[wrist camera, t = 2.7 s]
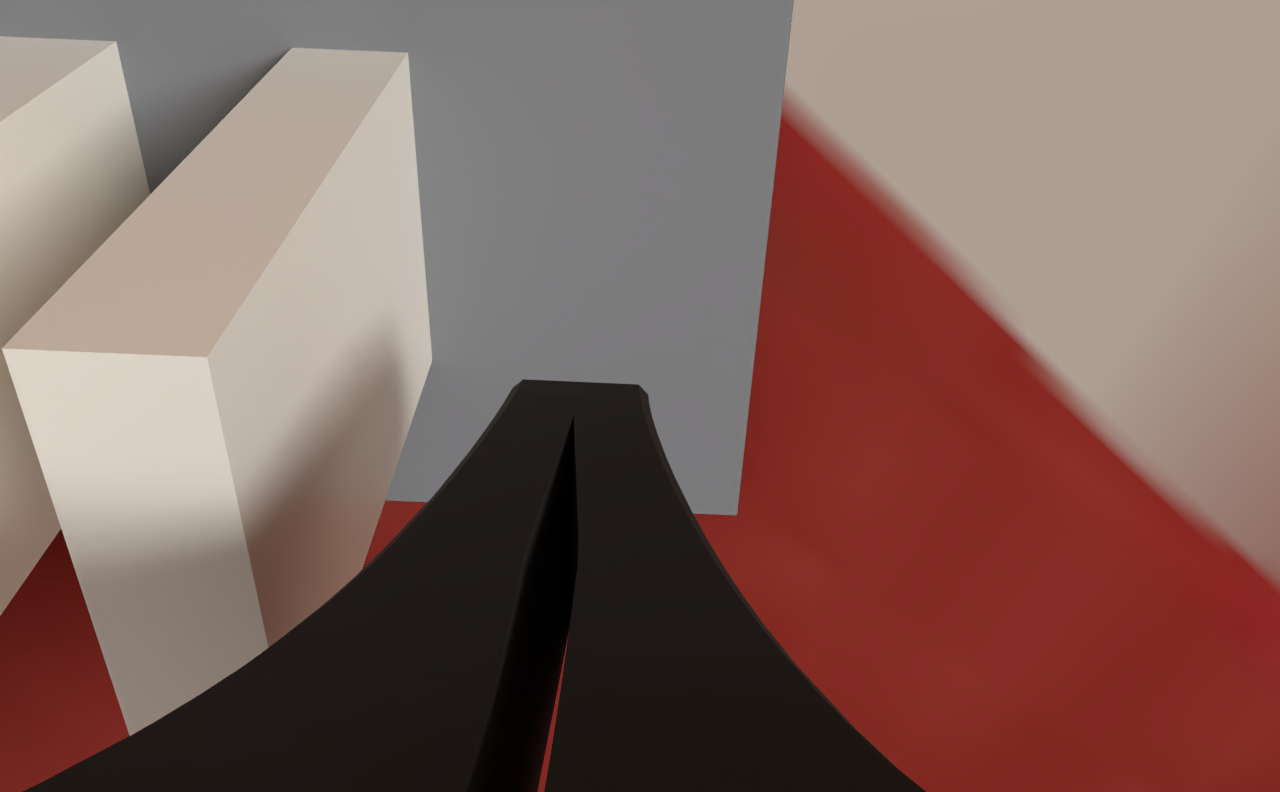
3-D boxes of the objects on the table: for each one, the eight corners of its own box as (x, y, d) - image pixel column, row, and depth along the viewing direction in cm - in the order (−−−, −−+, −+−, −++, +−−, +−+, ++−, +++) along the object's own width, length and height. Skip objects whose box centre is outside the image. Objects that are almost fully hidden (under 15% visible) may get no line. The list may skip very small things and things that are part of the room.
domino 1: (408, 52, 15) (206, 357, 9) (432, 360, 18) (294, 769, 11) (292, 48, 15) (3, 348, 9) (334, 356, 18) (138, 764, 11)
